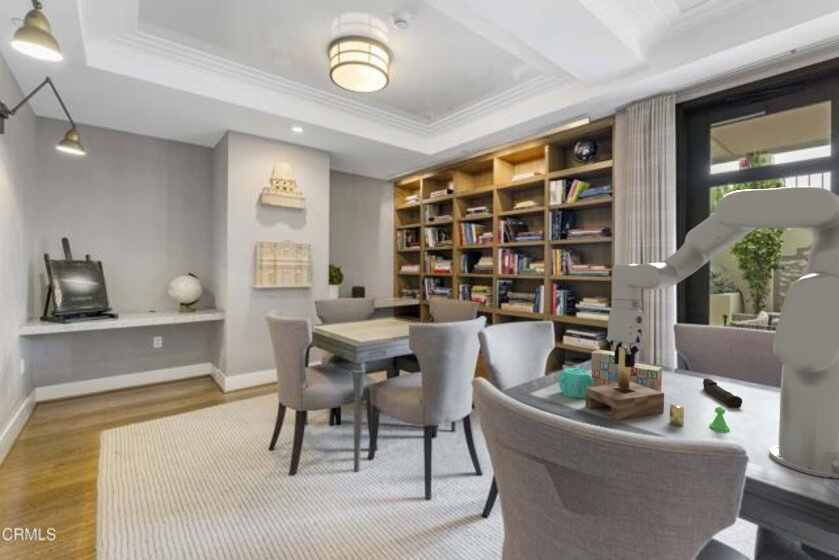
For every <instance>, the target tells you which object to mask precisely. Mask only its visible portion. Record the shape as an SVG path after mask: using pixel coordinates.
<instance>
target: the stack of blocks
mask: <svg viewBox="0 0 839 560" xmlns="http://www.w3.org/2000/svg"><path fill="white" fill-rule="evenodd" d="M614 357H615V351H611V350H610V351H609V350H604V349H603V350H602V349H596V350H594V351H592V352H591V368H590V369H591V377H592V379H593V383H594V386H600V385H607V384H615V383H618V364H615V363H614ZM662 376H663V367H661V366H655V365H650V364H649V365H648V364H642V363H638V362H637V363H636V362H635V366H634V367H630V382H633V383H636V384H639V385H642V386H645V387H648V388H651V389H654V390H657V391H660V392H662Z"/></svg>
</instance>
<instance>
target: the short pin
mask: <svg viewBox="0 0 839 560" xmlns="http://www.w3.org/2000/svg"><path fill="white" fill-rule="evenodd" d="M684 415H685V407H684V406H683V405H680V404H676V403H675V404H674V403H672V404H670V405H669V424H670V425H672V426H675V427H684V423H685V421H684V419H685V418H684V417H685V416H684Z"/></svg>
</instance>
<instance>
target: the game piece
mask: <svg viewBox="0 0 839 560" xmlns="http://www.w3.org/2000/svg"><path fill="white" fill-rule="evenodd" d="M714 409H715V410H714V413H716V414H717V415H716V416H715V418H714V419H713V421H712V422H710V423H709V428H710V429H711V430H714V431H716V432H720V433H721V432H722V433H728V432H730V430H731V428H730V427H729V426H728V425H727V422H726V420H725V417H724V415H725V413H726V409H724V408H723V407H721V406H717V407H715V408H714Z"/></svg>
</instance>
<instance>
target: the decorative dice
mask: <svg viewBox="0 0 839 560" xmlns="http://www.w3.org/2000/svg"><path fill="white" fill-rule="evenodd" d="M558 386H559V389H560V390H561V392H562V394H563V395H565V396H566V397H569V398H571V399H572V398H573V399H586V387H592V386H595V385H594V383H593V379H592V374H590V372H588V371H587V370H586V369H585V370H584V369H582V368H576V367H575V368H565V369H564V370H562V372H561V373H560V375H559V377H558Z"/></svg>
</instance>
